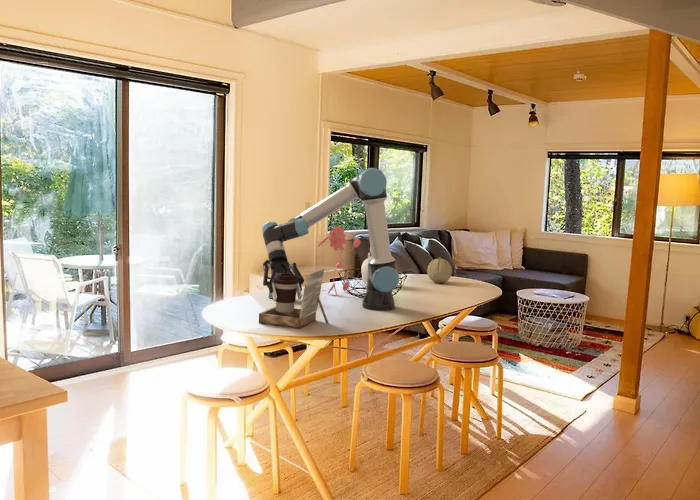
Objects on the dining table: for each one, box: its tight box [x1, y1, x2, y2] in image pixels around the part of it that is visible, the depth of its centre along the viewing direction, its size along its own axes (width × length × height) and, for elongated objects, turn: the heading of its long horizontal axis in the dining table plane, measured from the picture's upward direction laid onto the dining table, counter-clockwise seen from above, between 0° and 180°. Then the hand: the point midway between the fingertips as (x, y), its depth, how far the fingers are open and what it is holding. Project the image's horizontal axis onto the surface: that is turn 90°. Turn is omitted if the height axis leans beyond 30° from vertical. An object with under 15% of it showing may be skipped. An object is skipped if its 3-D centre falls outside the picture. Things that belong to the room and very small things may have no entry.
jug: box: [360, 247, 372, 282], centre depth 326 cm, size 15×16×25 cm
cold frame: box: [258, 268, 329, 330], centre depth 236 cm, size 24×16×22 cm, turn 71°
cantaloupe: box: [426, 256, 453, 284], centre depth 345 cm, size 15×15×15 cm
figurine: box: [317, 225, 361, 297], centre depth 301 cm, size 15×26×35 cm, turn 134°
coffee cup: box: [274, 273, 298, 313], centre depth 237 cm, size 10×10×15 cm
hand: (288, 298), depth 235 cm, fingers closed on coffee cup, 10 cm apart
